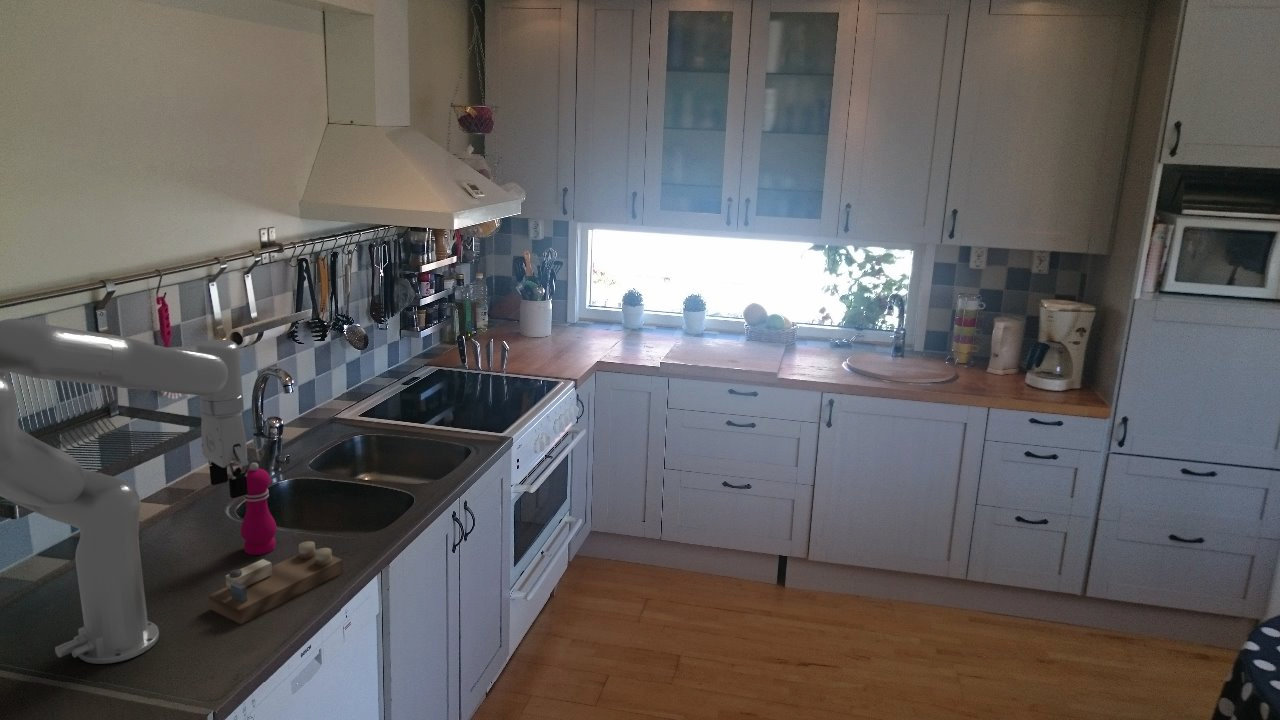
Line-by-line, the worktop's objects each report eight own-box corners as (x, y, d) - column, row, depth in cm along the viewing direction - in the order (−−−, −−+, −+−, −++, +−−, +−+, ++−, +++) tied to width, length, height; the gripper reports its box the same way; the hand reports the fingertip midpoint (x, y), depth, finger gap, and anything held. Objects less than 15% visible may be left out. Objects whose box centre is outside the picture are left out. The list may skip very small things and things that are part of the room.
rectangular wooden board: (240, 624, 166) (238, 595, 164) (210, 609, 170) (207, 580, 169) (343, 572, 186) (341, 546, 184) (313, 560, 190) (311, 534, 189)
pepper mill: (284, 549, 195) (278, 463, 189) (251, 559, 189) (244, 472, 184) (268, 538, 199) (262, 454, 194) (236, 548, 194) (229, 462, 189)
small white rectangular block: (235, 591, 170) (233, 576, 170) (226, 587, 172) (225, 572, 171) (272, 574, 177) (271, 559, 177) (263, 570, 179) (262, 556, 178)
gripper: (182, 398, 174) (190, 481, 179) (222, 420, 163) (229, 508, 167) (221, 390, 179) (228, 472, 184) (262, 411, 168) (268, 497, 173)
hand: (229, 489), depth 176 cm, fingers open, 7 cm apart
